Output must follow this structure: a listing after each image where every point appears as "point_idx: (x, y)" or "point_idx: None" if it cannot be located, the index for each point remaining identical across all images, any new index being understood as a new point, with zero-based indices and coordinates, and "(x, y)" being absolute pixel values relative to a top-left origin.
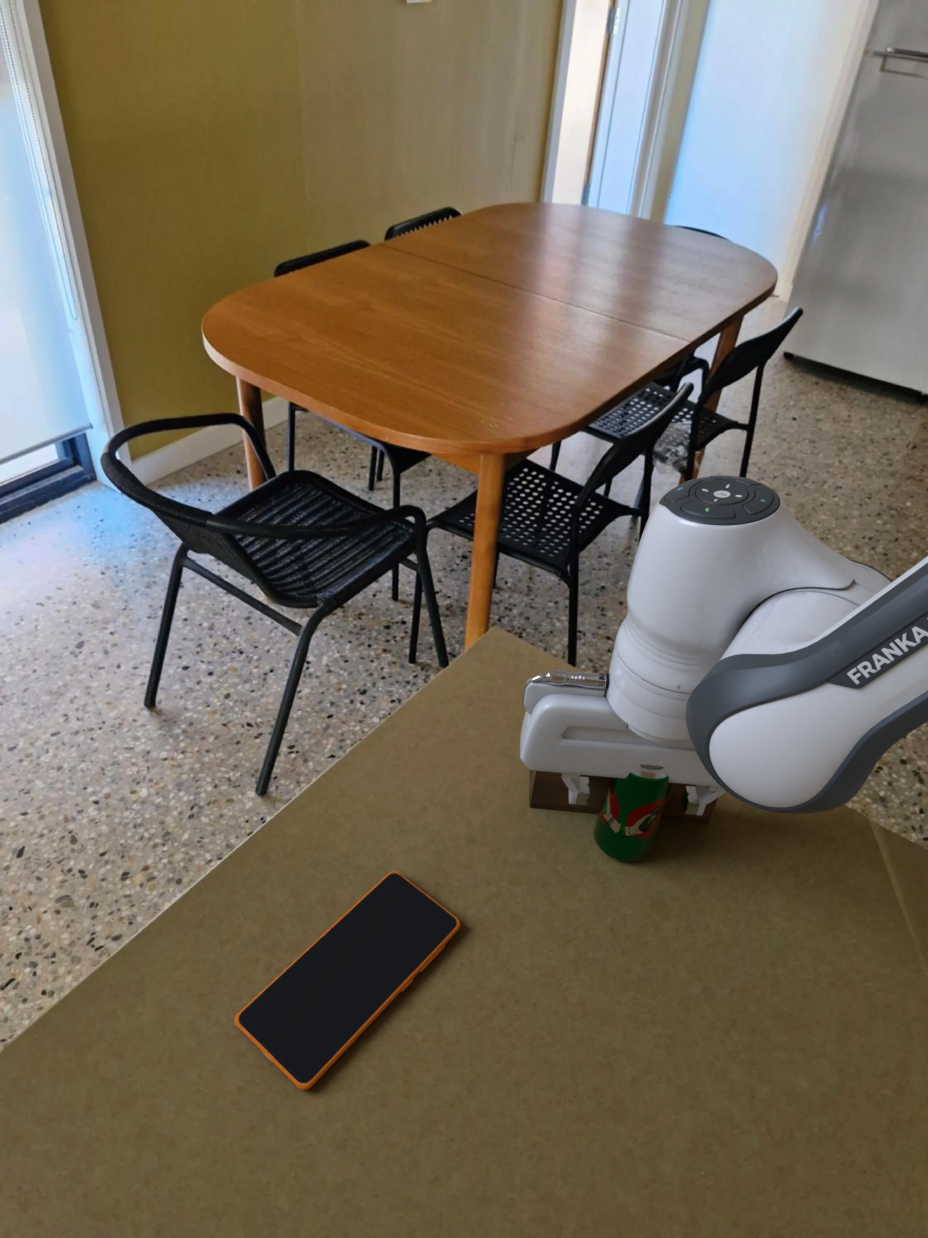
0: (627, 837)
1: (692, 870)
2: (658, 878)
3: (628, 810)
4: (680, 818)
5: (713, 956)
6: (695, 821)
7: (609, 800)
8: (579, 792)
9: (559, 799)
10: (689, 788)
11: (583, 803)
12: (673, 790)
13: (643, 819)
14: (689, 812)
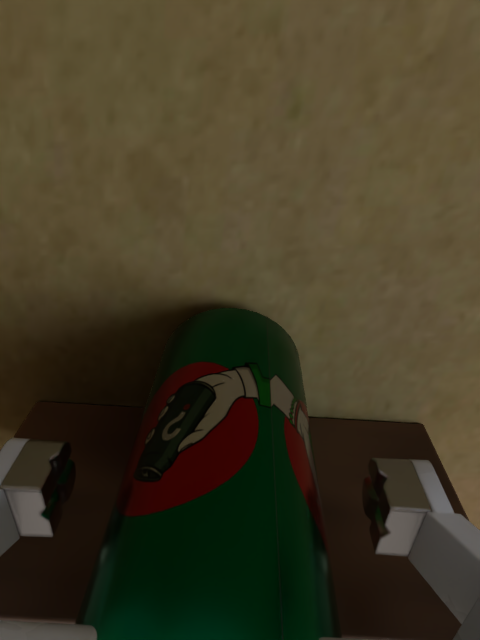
0: (242, 363)
1: (69, 294)
2: (152, 270)
3: (263, 459)
4: (95, 411)
5: (4, 27)
6: (63, 406)
7: (315, 483)
8: (429, 512)
9: (370, 447)
10: (39, 530)
11: (390, 465)
12: (103, 489)
13: (203, 425)
14: (46, 449)
